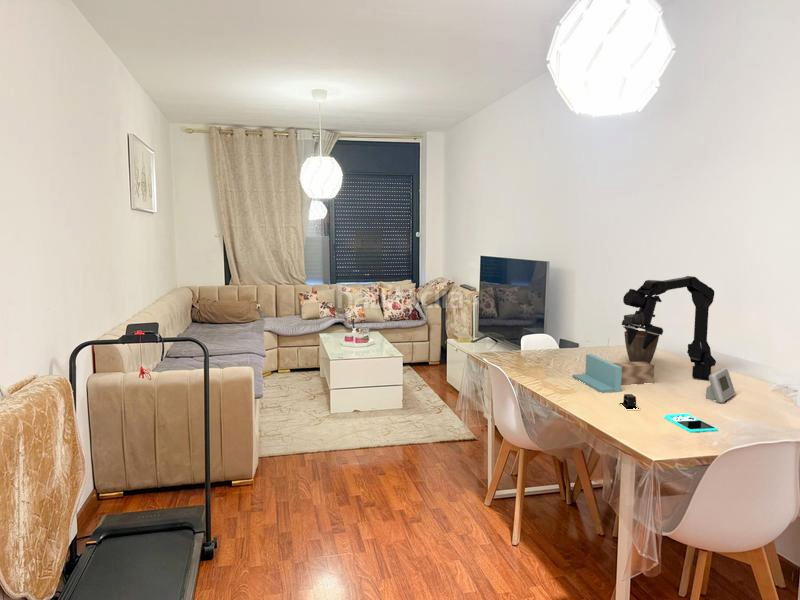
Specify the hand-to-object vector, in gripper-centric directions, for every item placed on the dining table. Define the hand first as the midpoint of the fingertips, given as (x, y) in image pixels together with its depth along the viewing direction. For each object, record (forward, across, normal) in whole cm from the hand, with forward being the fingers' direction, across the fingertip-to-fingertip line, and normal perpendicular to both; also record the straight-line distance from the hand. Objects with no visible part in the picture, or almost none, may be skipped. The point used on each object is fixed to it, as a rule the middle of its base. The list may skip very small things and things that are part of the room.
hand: (636, 346), depth 236 cm
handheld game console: (+20, +46, -9) cm, 51 cm away
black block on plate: (+21, +25, -16) cm, 36 cm away
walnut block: (+15, -3, +4) cm, 16 cm away
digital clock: (+11, +26, +22) cm, 36 cm away
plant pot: (+10, -24, +25) cm, 36 cm away
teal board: (+19, -4, -11) cm, 23 cm away
